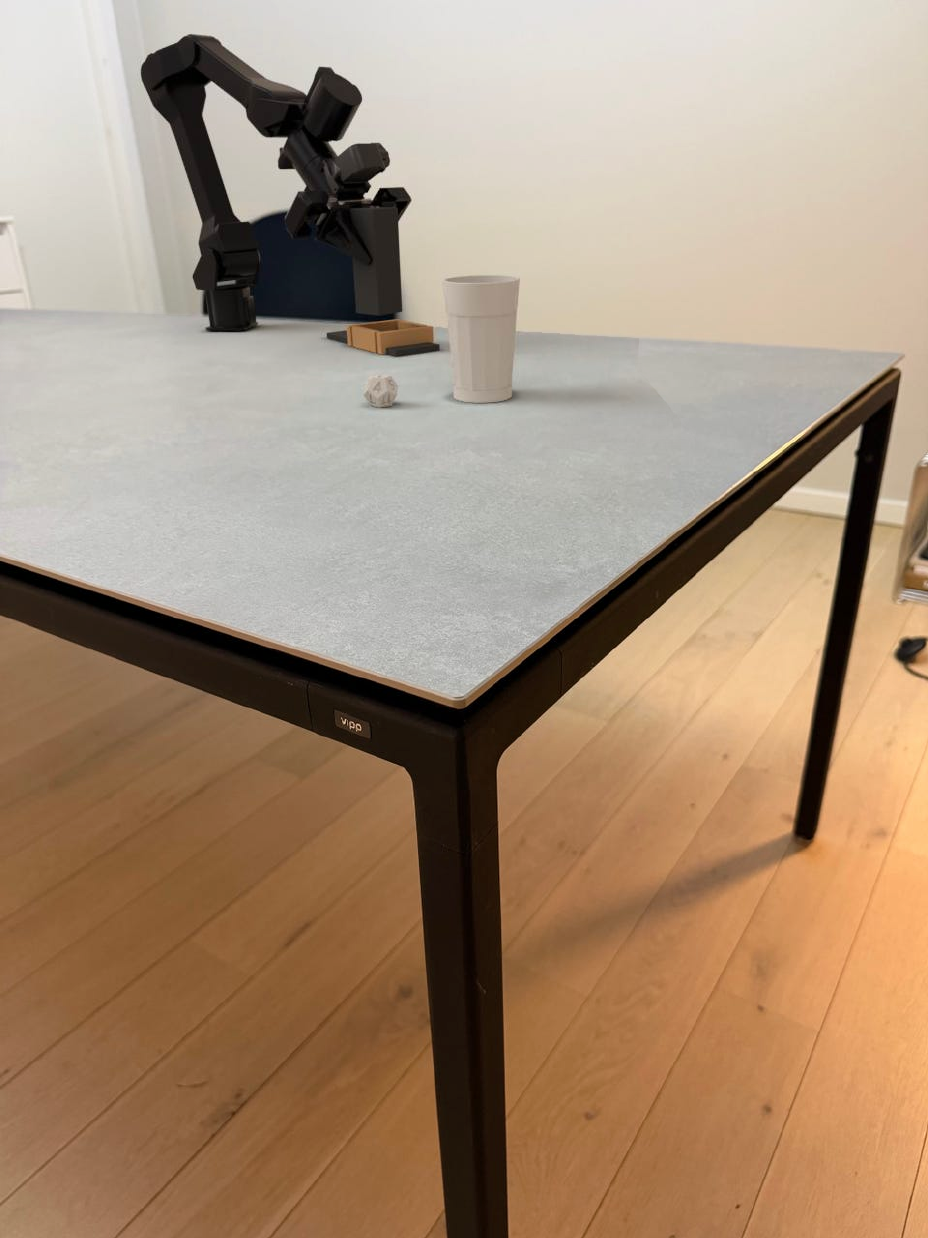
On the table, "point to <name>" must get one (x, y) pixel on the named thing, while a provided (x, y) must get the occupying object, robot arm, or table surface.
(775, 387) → the table surface
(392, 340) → the wooden tray on slab
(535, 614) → the table surface
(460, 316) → the cup
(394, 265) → the dark rectangular block
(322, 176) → the robot arm
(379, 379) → the game die
